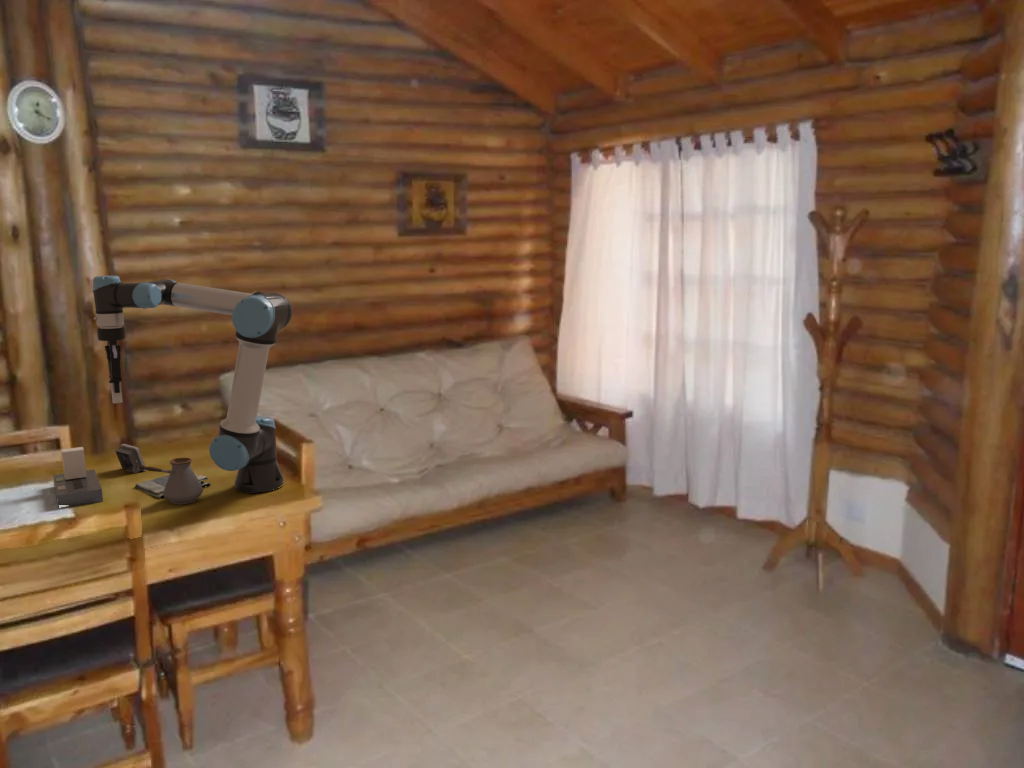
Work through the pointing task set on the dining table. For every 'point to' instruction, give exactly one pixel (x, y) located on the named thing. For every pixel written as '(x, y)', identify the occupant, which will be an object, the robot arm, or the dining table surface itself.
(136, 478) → the dining table surface
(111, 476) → the dining table surface
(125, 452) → the electrical switch
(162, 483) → the dish towel
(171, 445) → the dining table surface
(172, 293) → the robot arm
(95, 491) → the box
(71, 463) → the handle
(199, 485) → the coffee pot
